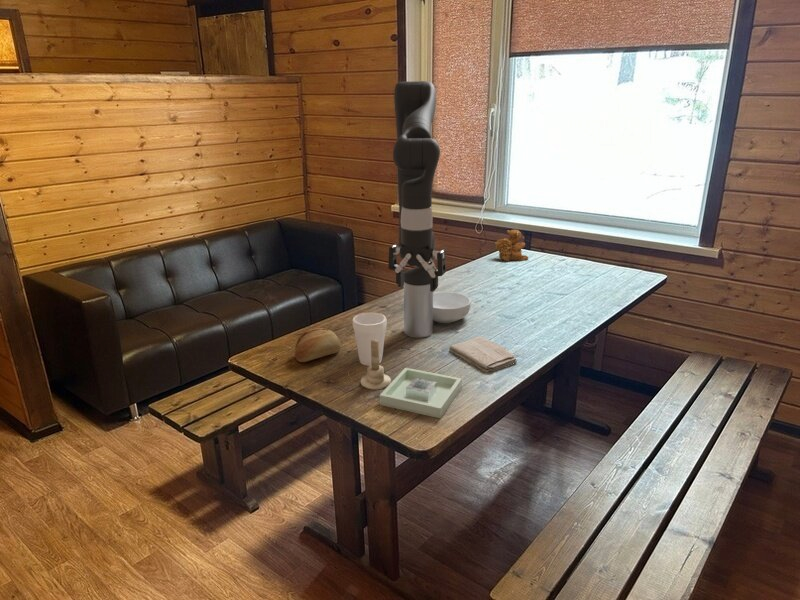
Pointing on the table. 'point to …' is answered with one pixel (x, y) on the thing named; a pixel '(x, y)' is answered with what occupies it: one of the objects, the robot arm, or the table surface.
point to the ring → (421, 389)
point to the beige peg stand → (375, 371)
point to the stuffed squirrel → (511, 247)
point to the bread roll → (316, 344)
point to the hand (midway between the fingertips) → (416, 288)
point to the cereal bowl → (449, 306)
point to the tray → (434, 407)
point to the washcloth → (483, 354)
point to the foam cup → (369, 334)
